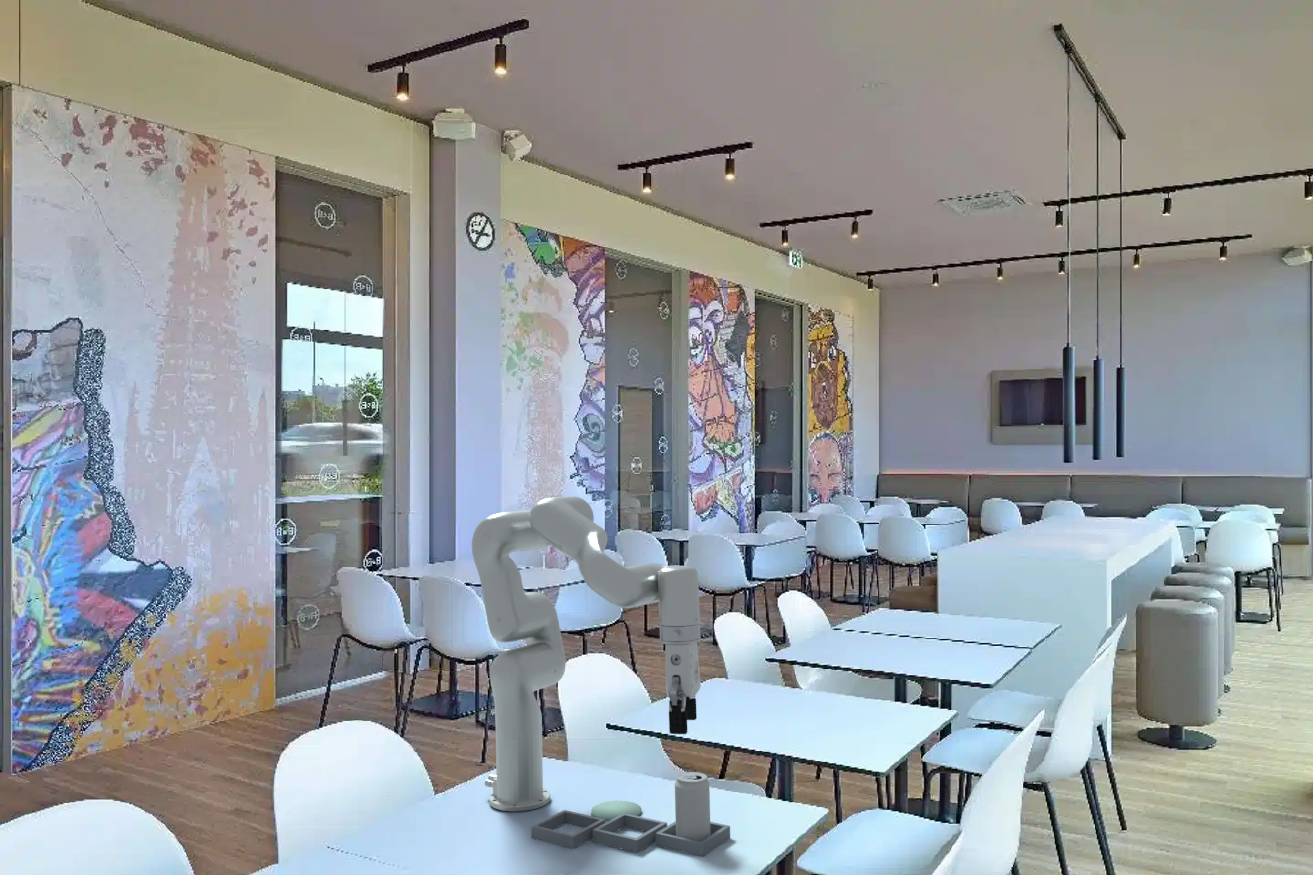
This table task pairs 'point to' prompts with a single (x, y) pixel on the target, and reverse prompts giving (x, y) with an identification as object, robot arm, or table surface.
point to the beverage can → (692, 806)
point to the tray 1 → (547, 834)
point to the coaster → (615, 809)
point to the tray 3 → (674, 842)
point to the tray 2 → (608, 837)
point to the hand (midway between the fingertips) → (683, 726)
